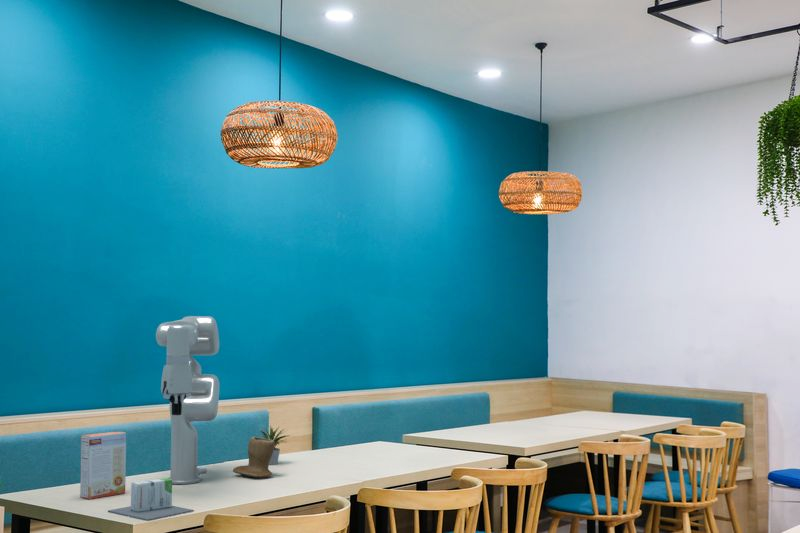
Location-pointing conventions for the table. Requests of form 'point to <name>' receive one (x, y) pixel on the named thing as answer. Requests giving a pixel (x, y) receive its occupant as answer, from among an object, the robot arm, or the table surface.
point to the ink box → (151, 495)
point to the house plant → (276, 450)
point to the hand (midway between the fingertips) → (176, 414)
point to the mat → (150, 512)
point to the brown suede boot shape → (257, 458)
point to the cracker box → (103, 464)
